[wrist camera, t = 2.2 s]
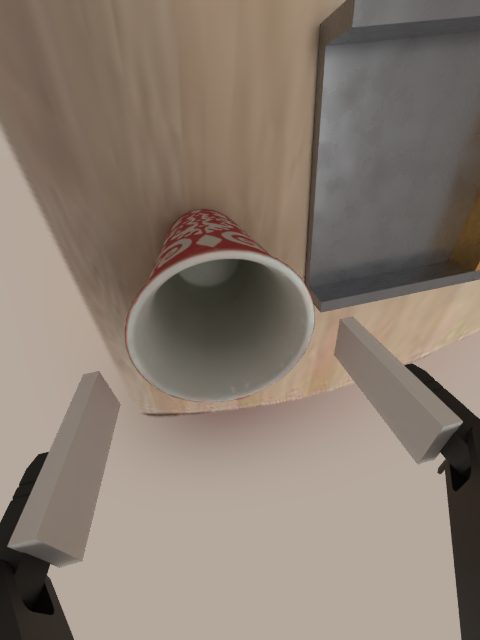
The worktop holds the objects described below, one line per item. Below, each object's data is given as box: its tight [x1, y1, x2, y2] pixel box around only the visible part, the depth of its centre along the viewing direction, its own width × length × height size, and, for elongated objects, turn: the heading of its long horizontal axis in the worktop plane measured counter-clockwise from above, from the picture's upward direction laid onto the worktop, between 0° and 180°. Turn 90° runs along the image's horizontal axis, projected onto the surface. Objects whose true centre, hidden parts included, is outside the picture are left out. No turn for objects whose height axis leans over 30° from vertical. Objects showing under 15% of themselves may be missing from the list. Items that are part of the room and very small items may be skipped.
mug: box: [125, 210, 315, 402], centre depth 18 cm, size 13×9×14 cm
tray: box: [305, 0, 480, 312], centre depth 21 cm, size 20×18×4 cm
